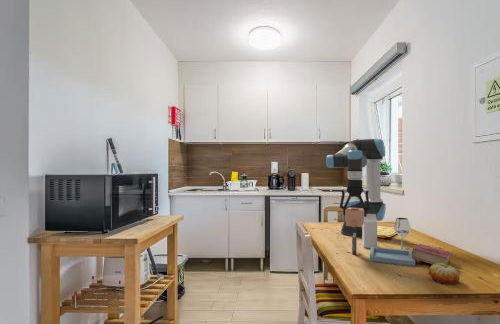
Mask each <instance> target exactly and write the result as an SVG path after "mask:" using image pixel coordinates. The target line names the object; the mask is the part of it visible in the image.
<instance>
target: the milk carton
mask: <svg viewBox="0 0 500 324" xmlns="http://www.w3.org/2000/svg"><path fill="white" fill-rule="evenodd" d="M361 238H362V241H361V244H362V247H363V248H366V249H371V247H378V221H377V218H376V214H367V216H366V217H364V223H363V226H362V236H361Z"/></svg>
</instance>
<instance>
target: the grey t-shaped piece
mask: <svg viewBox="0 0 500 324" xmlns="http://www.w3.org/2000/svg"><path fill="white" fill-rule="evenodd" d="M357 237H358V236H356V233H353V236H351V240H352V241H351V246H352V247H351V255H353V256H356V255H357V249H358V247H357V244H358V243H357V239H358V238H357Z"/></svg>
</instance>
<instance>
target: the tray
mask: <svg viewBox="0 0 500 324" xmlns="http://www.w3.org/2000/svg"><path fill="white" fill-rule="evenodd" d="M411 254H412V250H407V249H403V250H399V248H398V249H397V248H386V247H378V246H377V247H371V248H370V251H369V262H371V261H372V262H373V263H381V264H390V265H398V266H400V265H401V266H407V267H408V266H409V267H416V259H413V258H412V255H411Z"/></svg>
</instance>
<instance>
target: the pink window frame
mask: <svg viewBox="0 0 500 324" xmlns="http://www.w3.org/2000/svg"><path fill="white" fill-rule="evenodd" d="M346 226H352V227H362V226H363V208H347V210H346Z"/></svg>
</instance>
